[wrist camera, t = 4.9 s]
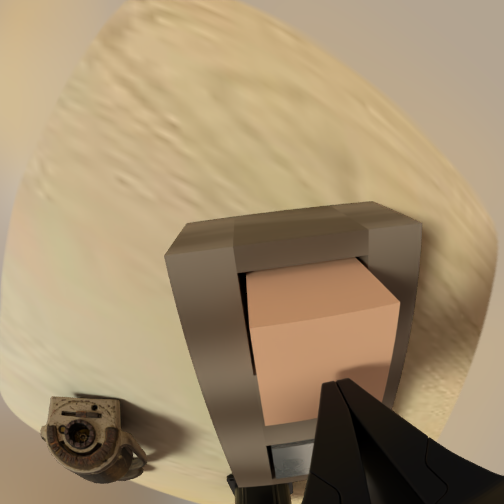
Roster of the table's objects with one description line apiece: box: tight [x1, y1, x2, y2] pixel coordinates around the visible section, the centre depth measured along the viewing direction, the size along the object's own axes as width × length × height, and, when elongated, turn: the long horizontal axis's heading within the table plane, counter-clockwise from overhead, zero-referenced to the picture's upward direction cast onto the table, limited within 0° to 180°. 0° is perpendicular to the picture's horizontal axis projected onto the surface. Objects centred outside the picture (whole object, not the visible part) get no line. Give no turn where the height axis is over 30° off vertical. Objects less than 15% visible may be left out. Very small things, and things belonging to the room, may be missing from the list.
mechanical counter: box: [41, 396, 147, 484], centre depth 17 cm, size 7×13×10 cm
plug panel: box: [164, 201, 422, 487], centre depth 16 cm, size 18×10×5 cm, turn 7°
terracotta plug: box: [246, 257, 400, 426], centre depth 11 cm, size 4×4×5 cm
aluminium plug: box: [271, 439, 314, 479], centre depth 17 cm, size 4×4×5 cm
